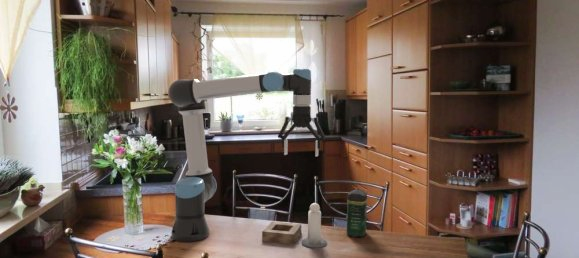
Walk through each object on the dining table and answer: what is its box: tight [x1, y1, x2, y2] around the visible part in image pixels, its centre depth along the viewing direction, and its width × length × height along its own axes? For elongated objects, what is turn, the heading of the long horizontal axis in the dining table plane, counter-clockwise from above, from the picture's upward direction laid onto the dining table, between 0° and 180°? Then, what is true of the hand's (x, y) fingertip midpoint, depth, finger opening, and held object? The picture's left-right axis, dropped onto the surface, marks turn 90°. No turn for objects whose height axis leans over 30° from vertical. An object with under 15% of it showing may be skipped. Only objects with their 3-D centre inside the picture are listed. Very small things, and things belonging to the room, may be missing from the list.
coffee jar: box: [346, 188, 368, 238], centre depth 174 cm, size 10×8×19 cm
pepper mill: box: [307, 202, 322, 244], centre depth 163 cm, size 5×5×16 cm
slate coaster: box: [301, 237, 328, 249], centre depth 163 cm, size 10×10×1 cm
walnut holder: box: [261, 221, 302, 245], centre depth 170 cm, size 13×13×4 cm
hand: (301, 155), depth 176 cm, fingers open, 13 cm apart
